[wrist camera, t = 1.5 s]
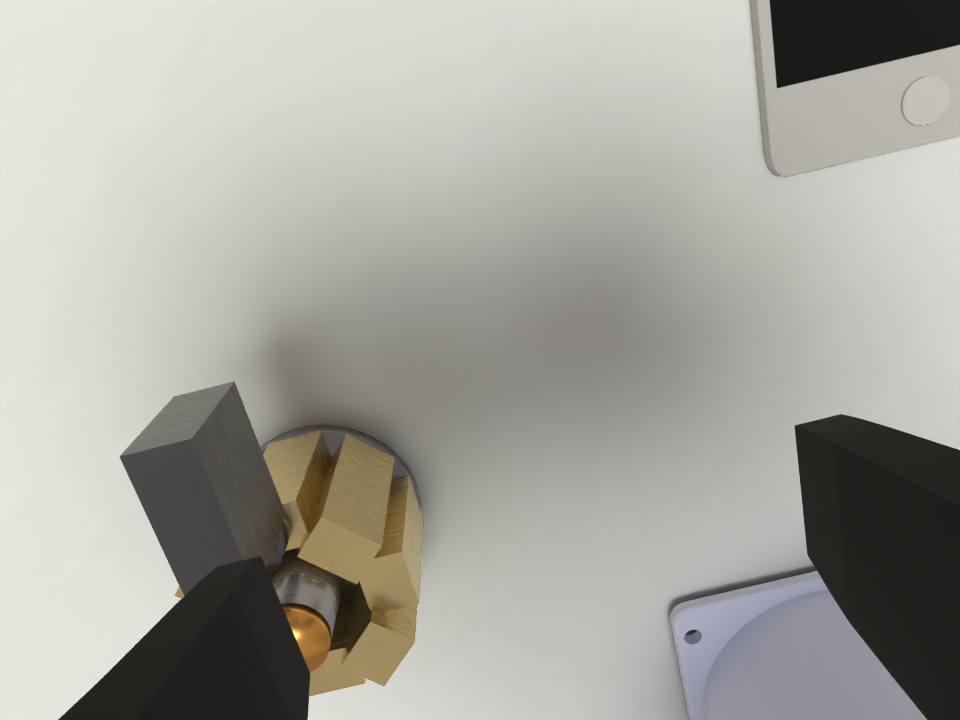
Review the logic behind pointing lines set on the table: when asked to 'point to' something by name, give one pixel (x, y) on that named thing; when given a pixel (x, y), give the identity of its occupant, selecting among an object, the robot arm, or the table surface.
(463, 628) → the table surface
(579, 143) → the table surface
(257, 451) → the ring nut
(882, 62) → the smartphone
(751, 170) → the table surface
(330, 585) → the base
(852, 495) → the robot arm
